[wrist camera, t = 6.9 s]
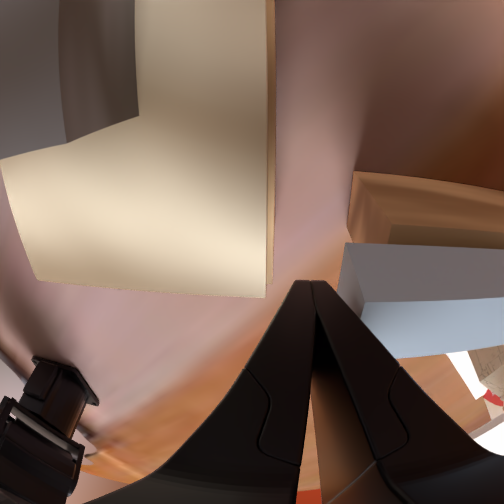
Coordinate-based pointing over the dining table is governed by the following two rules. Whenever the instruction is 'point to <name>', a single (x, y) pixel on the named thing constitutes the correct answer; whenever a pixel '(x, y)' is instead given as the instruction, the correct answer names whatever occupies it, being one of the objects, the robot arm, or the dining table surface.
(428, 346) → the block
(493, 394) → the white rectangular block
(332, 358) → the robot arm
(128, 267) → the lid
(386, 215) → the tan rectangular bar
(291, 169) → the dining table surface
